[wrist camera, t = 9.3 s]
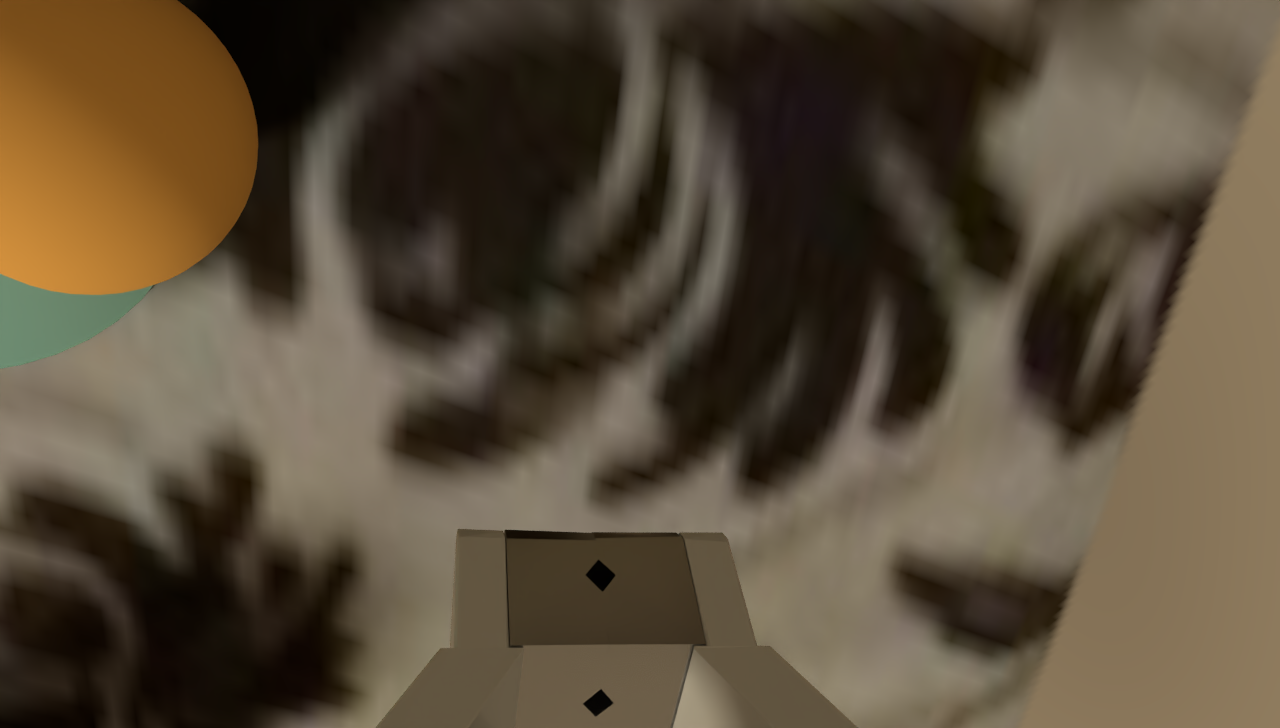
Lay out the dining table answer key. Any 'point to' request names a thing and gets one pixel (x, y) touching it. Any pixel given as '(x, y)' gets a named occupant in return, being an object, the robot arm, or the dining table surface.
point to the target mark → (53, 319)
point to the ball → (117, 143)
